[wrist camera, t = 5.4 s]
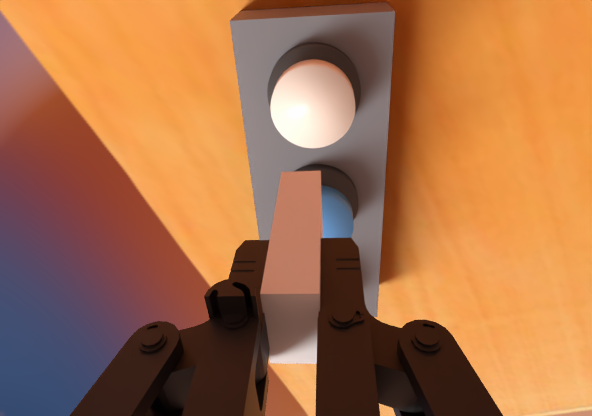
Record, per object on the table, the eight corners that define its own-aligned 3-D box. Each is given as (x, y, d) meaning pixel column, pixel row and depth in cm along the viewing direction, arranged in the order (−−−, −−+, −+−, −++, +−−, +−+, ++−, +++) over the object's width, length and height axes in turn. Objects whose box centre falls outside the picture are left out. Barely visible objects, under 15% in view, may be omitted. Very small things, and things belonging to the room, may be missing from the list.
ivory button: (354, 57, 25) (356, 64, 23) (353, 137, 27) (354, 146, 26) (269, 61, 25) (266, 68, 24) (276, 139, 28) (274, 149, 27)
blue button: (353, 184, 29) (354, 195, 28) (352, 241, 32) (353, 254, 31) (280, 185, 30) (278, 197, 28) (286, 242, 32) (284, 255, 31)
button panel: (387, 1, 29) (397, 14, 24) (372, 286, 43) (378, 325, 39) (240, 10, 29) (226, 23, 25) (274, 287, 44) (268, 324, 39)
